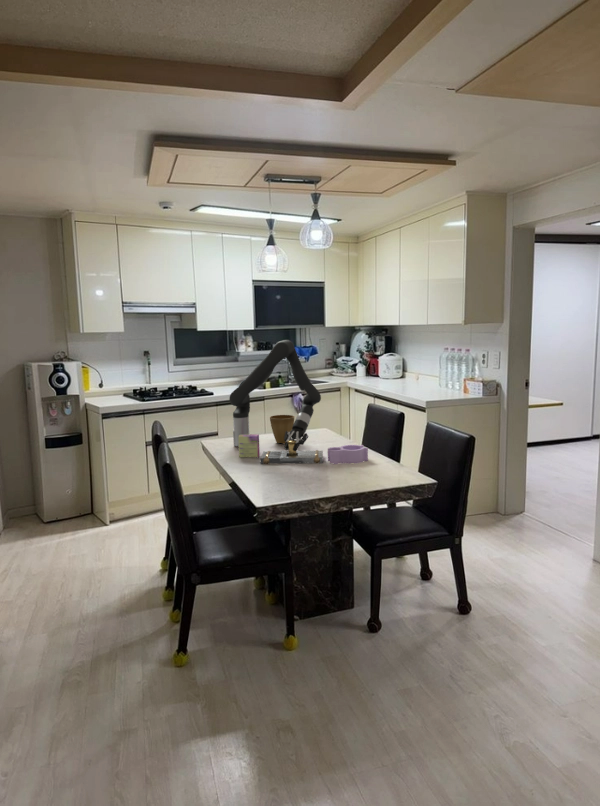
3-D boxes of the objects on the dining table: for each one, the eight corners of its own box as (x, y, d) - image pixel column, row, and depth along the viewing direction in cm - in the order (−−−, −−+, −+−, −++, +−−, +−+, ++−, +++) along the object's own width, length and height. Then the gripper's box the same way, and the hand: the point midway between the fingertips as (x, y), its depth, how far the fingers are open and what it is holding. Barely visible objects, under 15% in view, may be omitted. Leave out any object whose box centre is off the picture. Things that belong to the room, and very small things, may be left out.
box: (259, 455, 285) (259, 433, 283) (258, 457, 279) (257, 436, 277) (241, 455, 286) (240, 434, 284) (239, 457, 280) (238, 436, 278)
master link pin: (288, 460, 270) (287, 442, 269) (288, 458, 275) (287, 440, 273) (297, 460, 270) (296, 441, 269) (297, 457, 275) (296, 439, 273)
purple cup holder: (332, 465, 260) (332, 452, 259) (325, 459, 272) (325, 446, 271) (369, 462, 265) (369, 449, 263) (361, 456, 277) (361, 443, 275)
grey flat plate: (260, 464, 266) (260, 458, 265) (263, 456, 281) (263, 450, 280) (322, 463, 264) (322, 457, 264) (322, 455, 279) (322, 450, 279)
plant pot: (295, 445, 305) (294, 418, 302) (269, 445, 305) (268, 419, 303) (295, 439, 320) (294, 414, 317) (271, 440, 320) (270, 414, 317)
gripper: (287, 417, 279) (275, 444, 271) (310, 419, 272) (298, 447, 264) (293, 425, 285) (281, 451, 276) (315, 427, 277) (304, 455, 269)
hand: (290, 449), depth 270 cm, fingers open, 4 cm apart
